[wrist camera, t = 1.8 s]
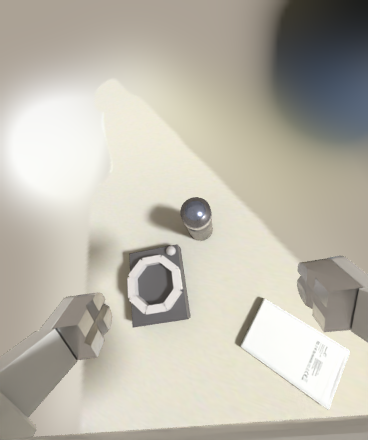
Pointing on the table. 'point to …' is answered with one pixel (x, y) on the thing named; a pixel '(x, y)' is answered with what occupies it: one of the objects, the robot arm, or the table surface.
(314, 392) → the external hard drive
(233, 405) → the table surface
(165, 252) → the octagonal socket base
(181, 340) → the table surface
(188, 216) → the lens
